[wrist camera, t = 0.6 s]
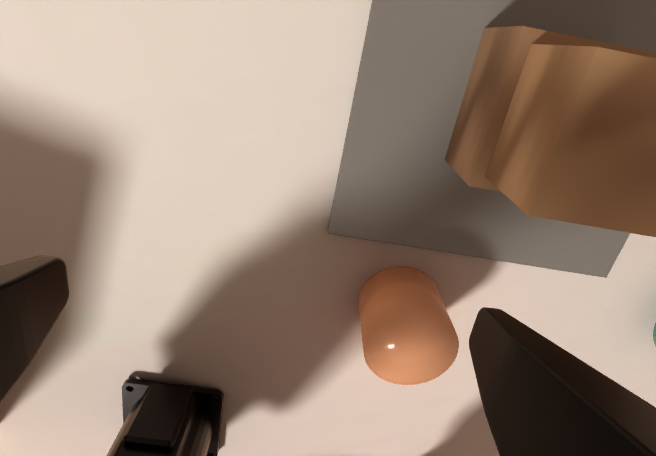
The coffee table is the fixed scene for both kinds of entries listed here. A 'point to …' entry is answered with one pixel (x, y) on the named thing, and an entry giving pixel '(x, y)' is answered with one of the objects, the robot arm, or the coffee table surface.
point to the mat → (438, 124)
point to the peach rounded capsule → (405, 327)
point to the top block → (581, 139)
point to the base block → (499, 94)
